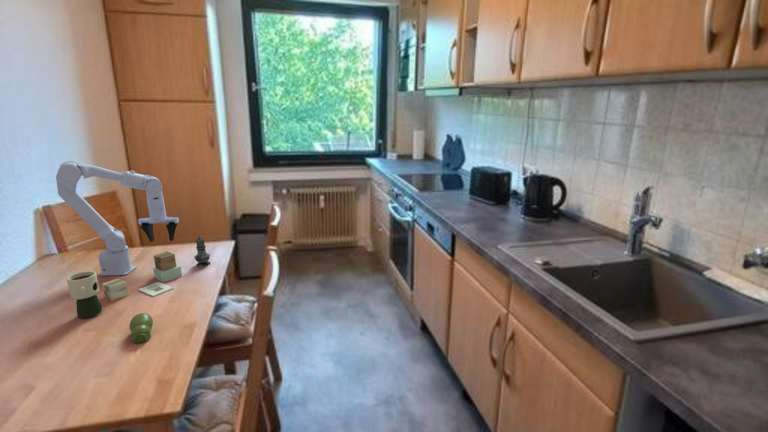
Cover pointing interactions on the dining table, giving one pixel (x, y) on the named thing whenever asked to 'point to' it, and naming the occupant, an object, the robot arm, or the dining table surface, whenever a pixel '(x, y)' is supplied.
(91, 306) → the character mug
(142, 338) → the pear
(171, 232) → the robot arm
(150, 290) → the card
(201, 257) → the dark green chess piece
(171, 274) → the base block
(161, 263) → the walnut block
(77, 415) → the dining table surface
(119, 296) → the ash block
